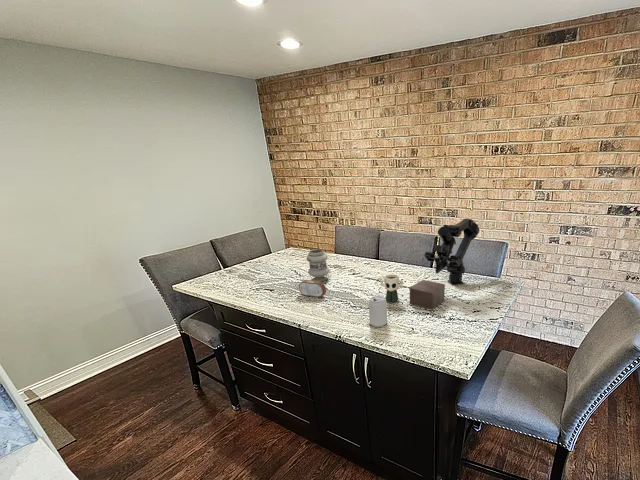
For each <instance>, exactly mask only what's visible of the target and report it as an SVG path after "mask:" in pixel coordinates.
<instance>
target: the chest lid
mask: <svg viewBox="0 0 640 480" xmlns="http://www.w3.org/2000/svg"><path fill="white" fill-rule="evenodd" d="M444 286H445V287H446V284H445V283H441V282H436V281H431V280H426V279H421V280H420V281H418V282H417V283H415V284H413V285H411V286H409V287H408V290H409V291H410V290H414V291H419V292H423V293H428V294H433V293H435V292H436V291H438V290H439V289H441V288H442V287H444Z"/></svg>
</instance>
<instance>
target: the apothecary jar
mask: <svg viewBox="0 0 640 480" xmlns="http://www.w3.org/2000/svg"><path fill="white" fill-rule="evenodd" d="M327 259H328V255H327V253H325V251H324V249H321V248H315V249H311V250H309V251H308V254H307V255H306V261H307V262H308V265H309V269H308V271H307V273H308V275H309V276H311V277H312V278H311V280H312V281H319V282H321V283H323V284H324V283H326V282H328V281H329V278H328V277H326V276H327V275H329V273H330V268H329V267H328V266H327Z"/></svg>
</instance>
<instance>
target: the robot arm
mask: <svg viewBox="0 0 640 480" xmlns="http://www.w3.org/2000/svg"><path fill="white" fill-rule="evenodd" d="M462 233H463V238H462V239H461V241H460V244H459V246H458V248H457V250H456V252H455V254H454V255H453V248H454V246H455V245H456V244H457V242H456V238H459V237H460V236H461V235H462ZM479 233H480V227H479V225H478V224H477V223H476V222H474V220H473V219H472V218H463V219H462V220H461V221H459V222H457V223H456V224H443V225H442V226H441V227H439V228H438V230H437V235H438V236H439V238H440V240H441V241H442V244H435V245H434V250H433V252H432V251H425V253H424V255H423V256H424V258H425V259H426V261H428V262H432V263H433V262H434V263H435V274H439V273H441V272H442V270H444V269H445V268H446V270H447V273H449V274H448V280H447V282H448V283H450V284H451V285H453V286H454V285H463V284H464V281H463V274H465V271H466V267H465V265H464V261H463V260H464V257H465V255H466V253H467V251H468V249H469V248H470V247H469V246H470V245H471V243H472V241H473V240H474V239H476V238H477V237H478V234H479ZM434 252H435V253H434Z"/></svg>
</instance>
